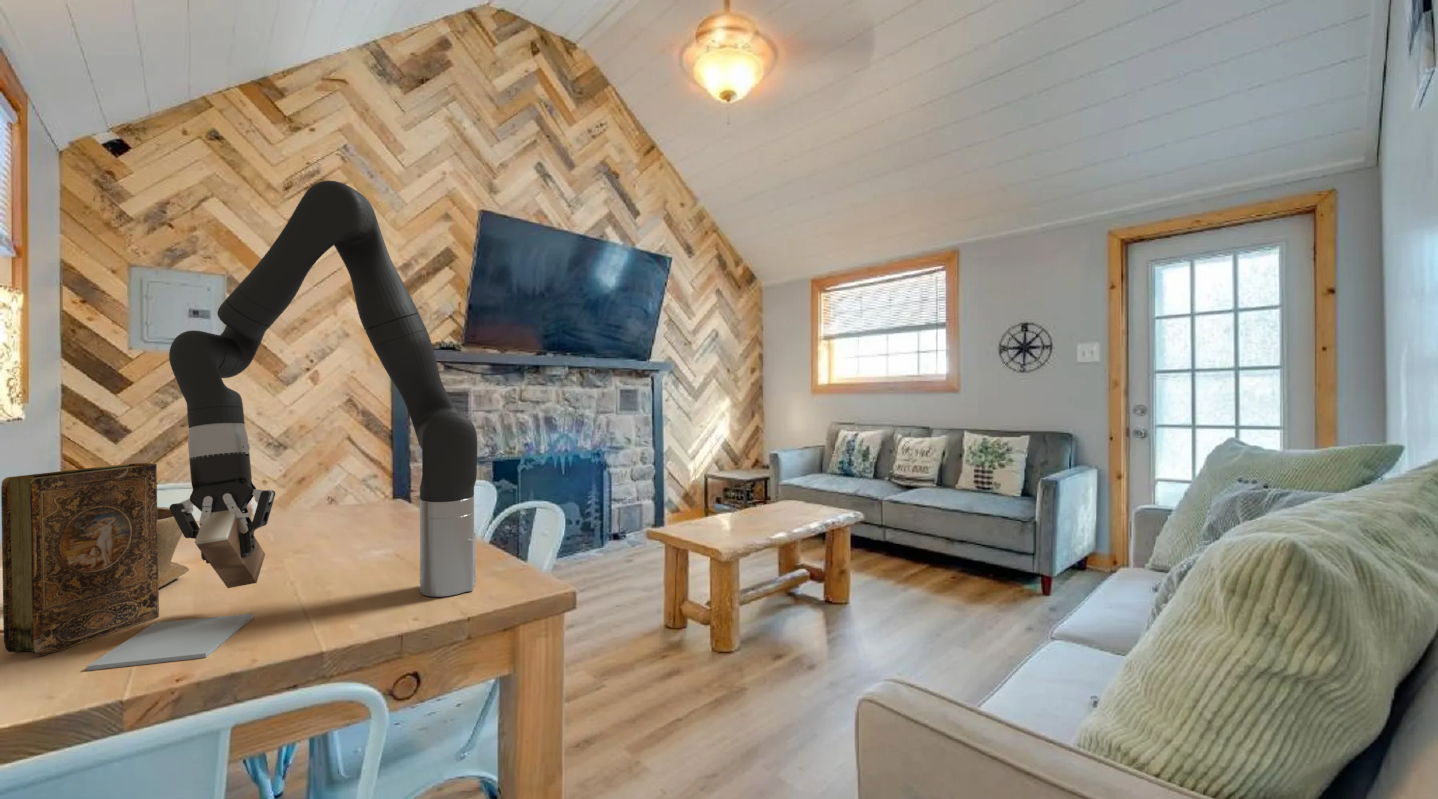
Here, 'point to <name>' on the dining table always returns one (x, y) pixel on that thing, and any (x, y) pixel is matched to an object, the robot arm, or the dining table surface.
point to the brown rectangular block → (228, 550)
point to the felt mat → (173, 641)
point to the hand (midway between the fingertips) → (229, 559)
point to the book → (78, 555)
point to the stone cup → (168, 547)
